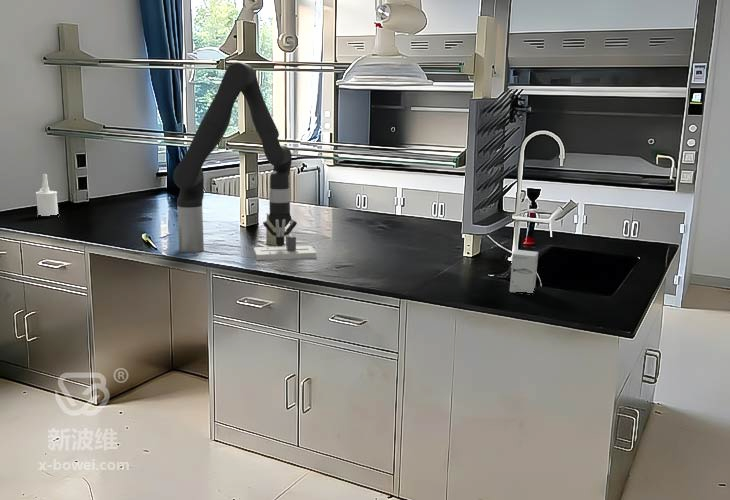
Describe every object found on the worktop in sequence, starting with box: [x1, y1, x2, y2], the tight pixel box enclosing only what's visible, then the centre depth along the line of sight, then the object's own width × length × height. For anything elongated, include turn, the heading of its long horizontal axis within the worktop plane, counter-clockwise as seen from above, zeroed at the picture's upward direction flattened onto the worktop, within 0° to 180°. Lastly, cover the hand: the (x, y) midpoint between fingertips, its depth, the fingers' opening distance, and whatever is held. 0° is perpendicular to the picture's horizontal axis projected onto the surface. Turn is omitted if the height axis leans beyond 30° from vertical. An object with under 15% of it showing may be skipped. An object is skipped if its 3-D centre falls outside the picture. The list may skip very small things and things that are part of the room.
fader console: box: [253, 245, 317, 261], centre depth 263 cm, size 22×12×2 cm, turn 104°
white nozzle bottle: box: [35, 173, 59, 216], centre depth 327 cm, size 10×9×20 cm
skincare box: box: [265, 213, 281, 247], centre depth 280 cm, size 6×4×12 cm
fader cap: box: [285, 234, 297, 251], centre depth 263 cm, size 3×5×5 cm, turn 14°
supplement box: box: [509, 249, 539, 294], centre depth 221 cm, size 7×7×13 cm
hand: (280, 246), depth 262 cm, fingers closed
